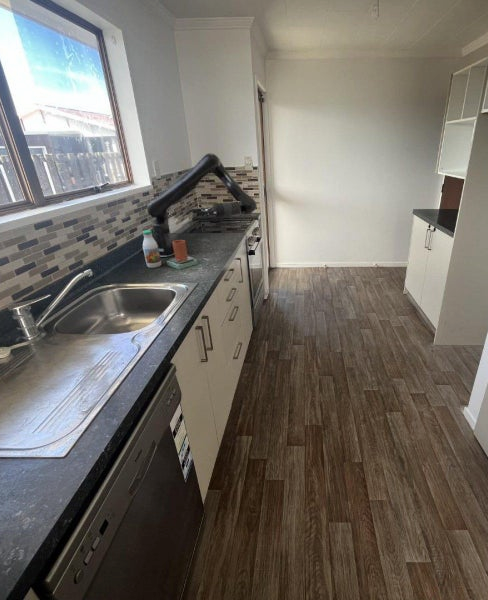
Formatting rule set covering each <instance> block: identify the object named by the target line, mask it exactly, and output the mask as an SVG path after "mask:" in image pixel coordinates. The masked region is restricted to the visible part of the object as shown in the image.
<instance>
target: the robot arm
mask: <svg viewBox="0 0 488 600" xmlns="http://www.w3.org/2000/svg"><path fill="white" fill-rule="evenodd" d="M210 173H212V174H213V175H215V176H216V177H217V178H218V179H219V180H220V181H221V183H222V185H224V187H225V189H226V190H227V191H228V193H229V194H230V195H231V196H232V197H233V198H234V200H236V201H232V202H231V201H230V202H217V203H213V205H212V207H211V206H203V207H198V208H193V209H191V212H192V214H193V215H194V214H196V216H197V217H201V216H205V217H209V216H214V217H216V218H221V217H229V216H232V215H233V216H234V215H251V214H252V213H254V212H255V210H256V209H257V206H258V205H257V202H256V200H255V199H254V198H253V197H252V196H251V195H249V194H248V193H246V192H245V191H244V189H243V188H242V187H241V185H240V184H239V183H238V182H237V181H236V180H235V179H234V178H233V177H232V176H231V175H230V173H229V172H228V171H227V169H226V168H225V166H224V164H223V163H222V160H221V159H220V158H219V156H218V155H216V154H215V153H213V152H212V153H211V152H209V153H208V152H207V153H206V154H205V155H203V156H202V158H201V159H200V160H199V161H198V162H197V163H196V164H194V166H193V167H192V168H190V169H189V170H187V171H186V172H185V173H183V174H182V175H181V176H179V177H178V178H177V179H176V180H175V181H174V182H172V184H170V186H169V187H168V188H166V190H165V191H164V192H163V193H161V195H159V196H158V197H157V198H154V199H153V200H151V201H150V202H148V204H147V207H146V211H147V213H148V215H149V216H150V217H151V229H152V234H153V238H154V240H155V241H156V243H157V245H158V249H159V254H160V258H169V257H173V256H175V254H174V249H173V244H172V242H173V241H172V235H171V230H170V224H169V216H168V210H169V208H170V207H172V206H173V205H174V204H176V203H177V202H178V201H180V200H182V199H183V198H185V197H186V196H187V195H188V194H190V193H191V192H192V191H193V190H194V189H195V188H196V187H197V186H198V184H200V182H201V181H202V179H203V178H205V177H206V176H207V175H209V174H210ZM142 252H144V251H143V249H140V251H139V253H142Z"/></svg>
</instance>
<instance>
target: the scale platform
mask: <svg viewBox="0 0 488 600" xmlns="http://www.w3.org/2000/svg"><path fill="white" fill-rule="evenodd" d="M193 259H195V257H192V256H189V255H188V259H186V260H182V261H178V260H176V259H175V257H173V258H169V259H168V261H172V262H175V263H178V264H180V263H183V262H187V261H190V260H193Z"/></svg>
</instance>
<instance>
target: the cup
mask: <svg viewBox="0 0 488 600" xmlns="http://www.w3.org/2000/svg"><path fill="white" fill-rule="evenodd" d="M172 245H173V250H174V258H175V259H176V260H178V261H182V260H186V259H188V256H189V255H188V251H187V244H186V240H184V239H176V240H173V241H172Z"/></svg>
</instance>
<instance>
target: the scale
mask: <svg viewBox="0 0 488 600" xmlns="http://www.w3.org/2000/svg"><path fill="white" fill-rule="evenodd" d="M166 264H167V265H166V266H168V267H171V268H174V269H176V270H182V269H186V268H189V267H193V266H195V265H198V264H199V263H198V259H196V258H194V259H193V260H190V261H187V262H183V263H180V264H178V263H175V262H172V261H169V260H166Z"/></svg>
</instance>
